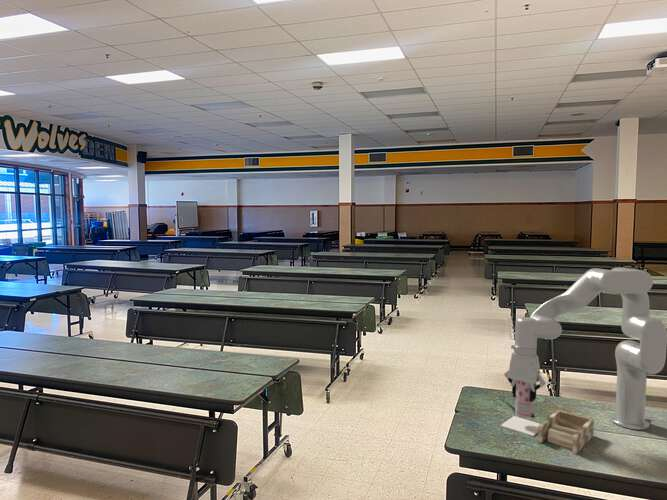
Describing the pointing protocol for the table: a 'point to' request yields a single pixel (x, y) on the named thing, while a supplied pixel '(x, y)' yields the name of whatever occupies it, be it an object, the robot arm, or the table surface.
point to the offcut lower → (560, 442)
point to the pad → (521, 426)
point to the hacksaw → (514, 409)
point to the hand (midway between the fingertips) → (523, 398)
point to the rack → (568, 421)
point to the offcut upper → (561, 433)
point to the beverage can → (523, 399)
